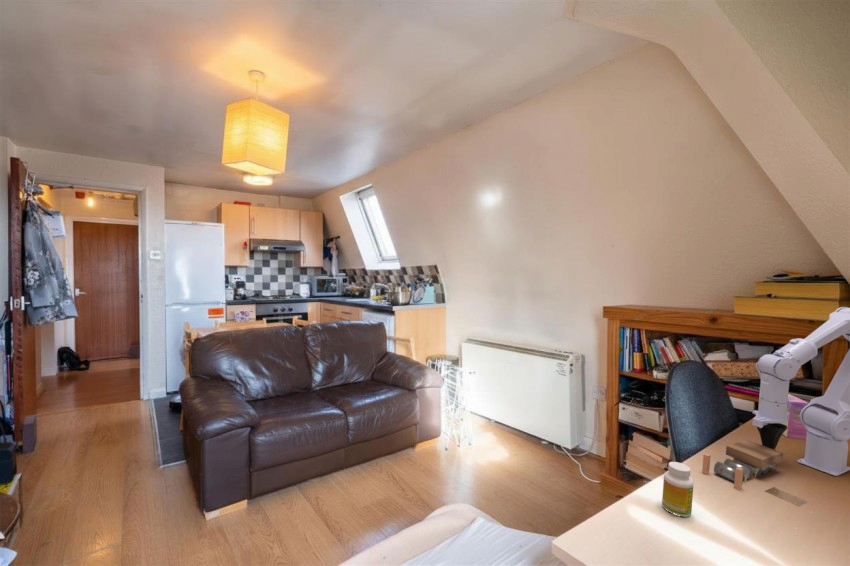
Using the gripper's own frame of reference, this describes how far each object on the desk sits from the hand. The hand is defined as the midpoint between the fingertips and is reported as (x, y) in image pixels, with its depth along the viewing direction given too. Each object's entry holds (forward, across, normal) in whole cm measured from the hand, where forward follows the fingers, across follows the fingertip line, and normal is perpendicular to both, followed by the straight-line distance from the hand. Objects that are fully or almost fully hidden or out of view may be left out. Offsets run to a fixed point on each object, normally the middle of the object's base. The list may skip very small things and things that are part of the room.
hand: (768, 449), depth 107 cm
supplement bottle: (+5, +44, +3) cm, 45 cm away
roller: (+4, +14, 0) cm, 15 cm away
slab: (+1, +7, 0) cm, 7 cm away
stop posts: (+4, +22, 0) cm, 22 cm away
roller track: (+4, +11, +5) cm, 13 cm away
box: (+4, -34, -10) cm, 35 cm away
